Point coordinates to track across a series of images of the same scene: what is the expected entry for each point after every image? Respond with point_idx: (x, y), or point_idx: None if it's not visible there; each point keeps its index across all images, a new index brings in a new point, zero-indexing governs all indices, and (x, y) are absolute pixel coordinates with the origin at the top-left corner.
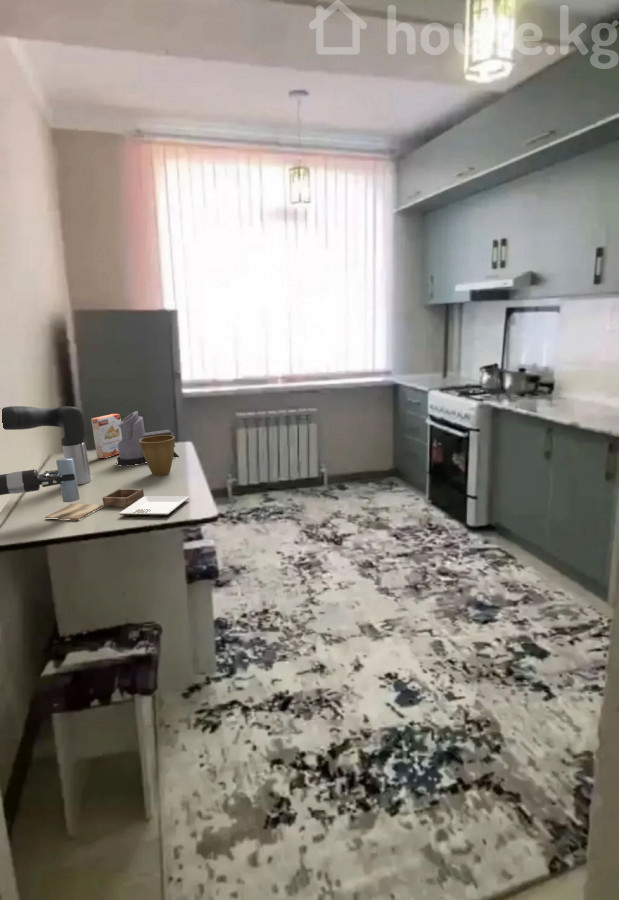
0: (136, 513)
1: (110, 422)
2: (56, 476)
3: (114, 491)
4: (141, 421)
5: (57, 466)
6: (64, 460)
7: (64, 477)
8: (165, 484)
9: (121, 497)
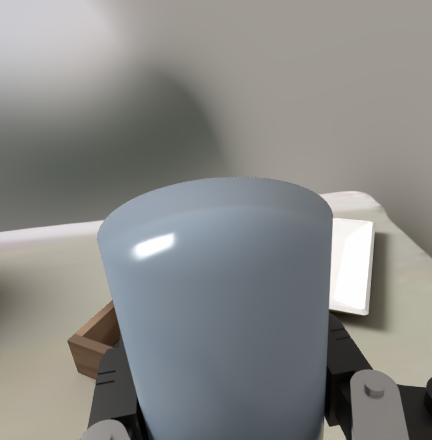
0: (370, 271)
1: None
2: (406, 434)
3: (98, 350)
4: None
5: (290, 340)
6: (283, 202)
7: (366, 367)
8: (35, 271)
9: None
